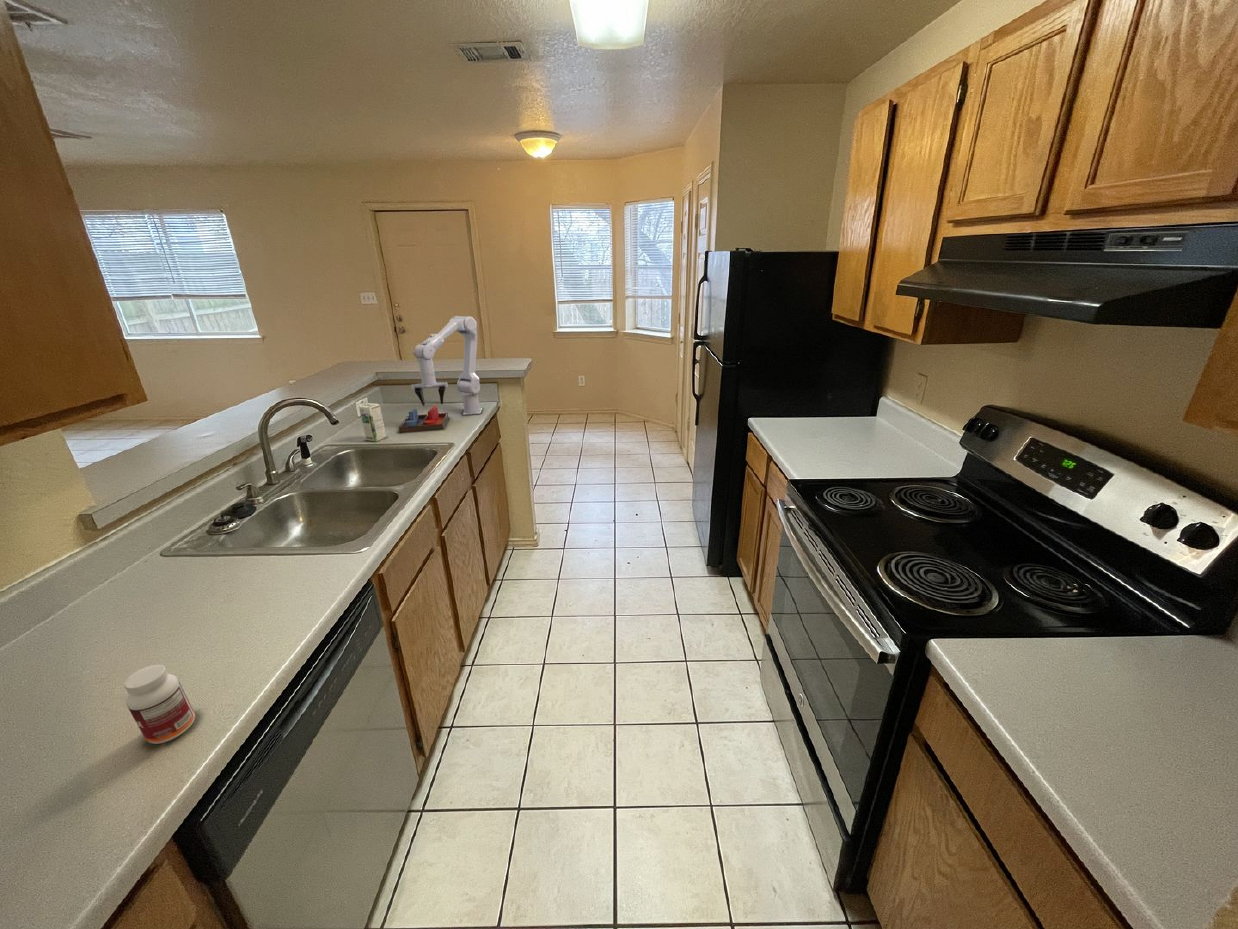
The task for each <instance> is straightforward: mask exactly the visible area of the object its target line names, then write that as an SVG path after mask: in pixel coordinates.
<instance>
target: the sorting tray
mask: <svg viewBox="0 0 1238 929" xmlns="http://www.w3.org/2000/svg"><path fill="white" fill-rule="evenodd" d="M438 413H439V412H438ZM418 419H419V421H418V422H417V425H415V426H406V421H410V418H409V415H407V416H406V417H405V419H403V421H402V422H401V424H400V425H399V426H398V430H399V434H403V433H404V434H405V433H415V432H416V433H418V432H429V431H441V430H444V429H445V427H446V425H447V423H448V421H449V412H441V413H439V419H437V420H436V421H435V424H432V425H425V424H424V421H426V420H429V418H428V413H425V414H418Z"/></svg>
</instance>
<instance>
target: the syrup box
mask: <svg viewBox="0 0 1238 929" xmlns="http://www.w3.org/2000/svg"><path fill="white" fill-rule="evenodd" d="M358 409H359V414H360V418H361V423H362V427H363V428H362V429H363V432H364V437H365V440H366V441H370V442H378V441H381V440H383V439H385V438H387V433H386V429H385V424H384V419H383V414H382V410H381V405H380V403H372V402H369V403H363V404H361V405H358Z"/></svg>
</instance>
